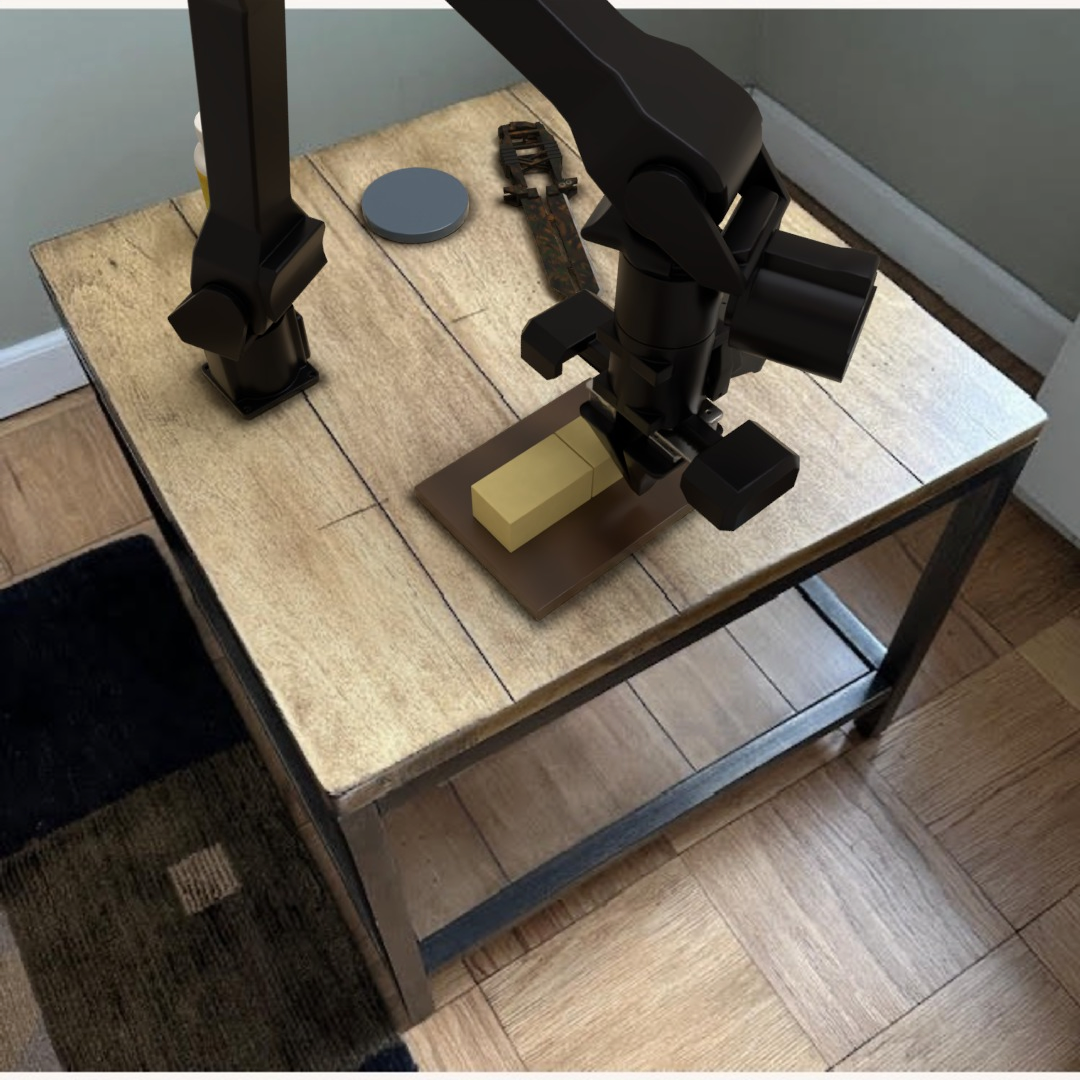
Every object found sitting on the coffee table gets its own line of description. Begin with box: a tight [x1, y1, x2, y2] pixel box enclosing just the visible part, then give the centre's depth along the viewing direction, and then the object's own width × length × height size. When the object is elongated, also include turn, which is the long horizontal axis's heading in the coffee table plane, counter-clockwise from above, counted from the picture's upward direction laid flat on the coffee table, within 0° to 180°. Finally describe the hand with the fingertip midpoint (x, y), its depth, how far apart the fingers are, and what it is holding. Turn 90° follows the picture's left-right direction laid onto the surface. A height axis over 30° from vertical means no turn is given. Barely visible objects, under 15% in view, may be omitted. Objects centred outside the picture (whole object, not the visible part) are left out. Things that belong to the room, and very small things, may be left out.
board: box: [413, 376, 695, 622], centre depth 75 cm, size 16×13×1 cm
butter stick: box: [471, 434, 593, 552], centre depth 72 cm, size 7×4×3 cm, turn 130°
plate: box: [361, 166, 470, 244], centre depth 93 cm, size 9×9×1 cm
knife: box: [497, 120, 604, 299], centre depth 92 cm, size 25×6×1 cm, turn 8°
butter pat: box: [555, 416, 623, 497], centre depth 74 cm, size 4×4×3 cm
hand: (640, 489), depth 73 cm, fingers closed
